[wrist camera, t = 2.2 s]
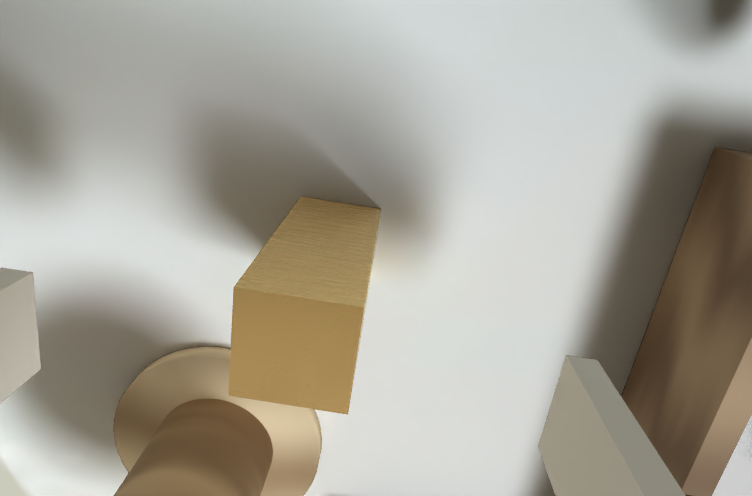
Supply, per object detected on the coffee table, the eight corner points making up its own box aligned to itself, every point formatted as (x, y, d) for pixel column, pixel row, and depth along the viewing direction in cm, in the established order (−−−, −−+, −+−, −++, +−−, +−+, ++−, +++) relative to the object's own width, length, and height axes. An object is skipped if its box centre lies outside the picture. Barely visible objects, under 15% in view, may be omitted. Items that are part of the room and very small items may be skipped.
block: (301, 196, 19) (234, 287, 12) (380, 208, 19) (364, 307, 12) (293, 270, 20) (228, 395, 13) (369, 281, 20) (347, 414, 13)
